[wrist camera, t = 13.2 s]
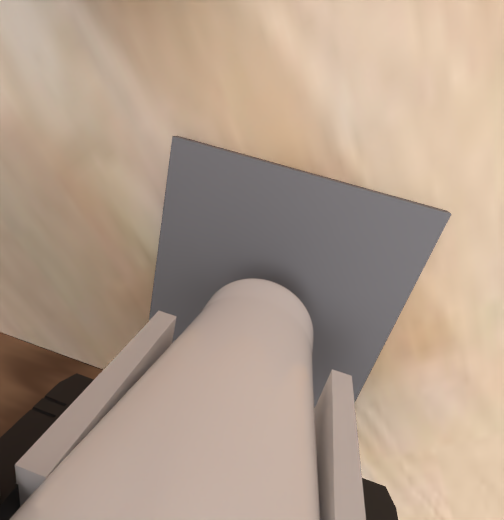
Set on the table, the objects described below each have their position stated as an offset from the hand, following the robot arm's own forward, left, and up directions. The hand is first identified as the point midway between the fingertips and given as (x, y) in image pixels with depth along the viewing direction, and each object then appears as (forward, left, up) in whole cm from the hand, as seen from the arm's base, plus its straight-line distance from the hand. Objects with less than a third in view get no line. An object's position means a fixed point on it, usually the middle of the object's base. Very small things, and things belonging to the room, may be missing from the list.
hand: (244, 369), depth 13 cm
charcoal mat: (0, 0, -7) cm, 7 cm away
